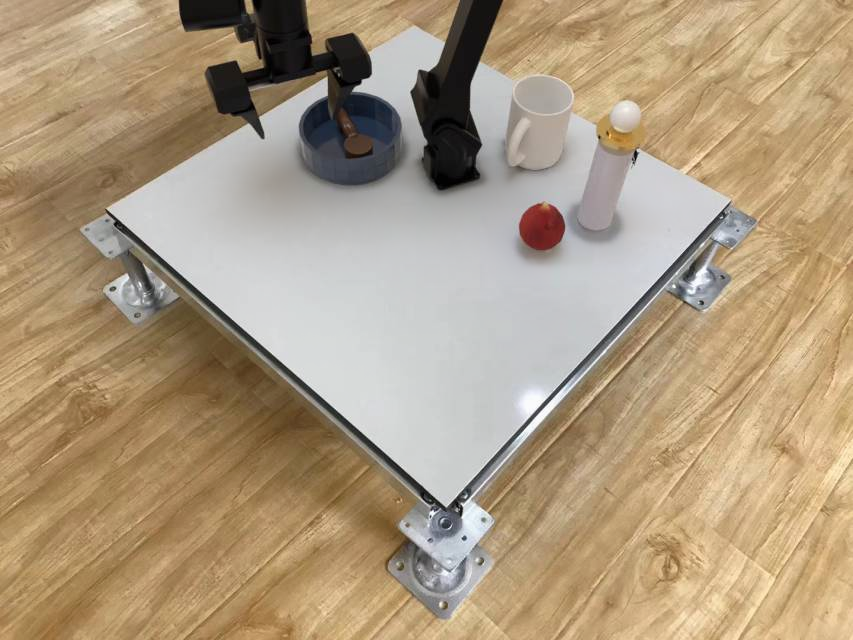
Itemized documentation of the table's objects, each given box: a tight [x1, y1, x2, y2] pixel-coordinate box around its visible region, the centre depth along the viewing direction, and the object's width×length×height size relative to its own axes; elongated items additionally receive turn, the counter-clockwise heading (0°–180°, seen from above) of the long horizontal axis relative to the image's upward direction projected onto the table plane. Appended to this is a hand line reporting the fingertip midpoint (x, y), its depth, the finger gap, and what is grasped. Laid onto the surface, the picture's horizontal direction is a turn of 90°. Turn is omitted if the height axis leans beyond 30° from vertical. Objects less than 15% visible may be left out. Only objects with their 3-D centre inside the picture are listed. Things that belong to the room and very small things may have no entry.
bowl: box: [298, 91, 403, 186], centre depth 108 cm, size 14×14×4 cm
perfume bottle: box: [576, 99, 647, 231], centre depth 95 cm, size 6×6×20 cm
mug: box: [504, 74, 575, 171], centre depth 106 cm, size 12×8×10 cm
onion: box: [518, 201, 566, 252], centre depth 98 cm, size 6×6×8 cm
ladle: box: [336, 108, 373, 159], centre depth 108 cm, size 10×4×3 cm, turn 23°
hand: (297, 127), depth 97 cm, fingers open, 9 cm apart
